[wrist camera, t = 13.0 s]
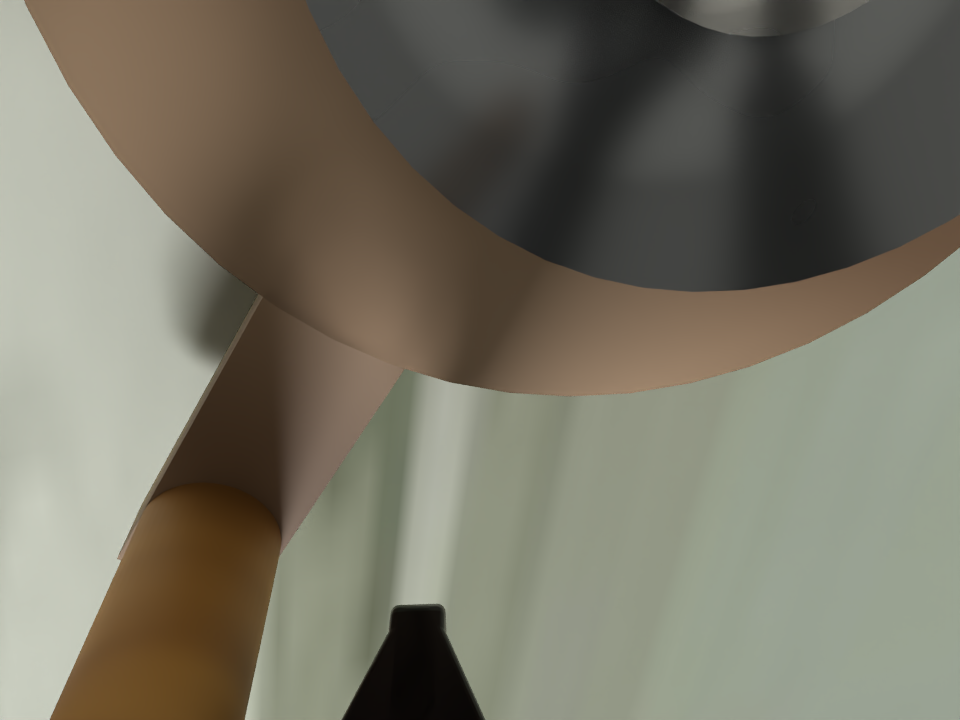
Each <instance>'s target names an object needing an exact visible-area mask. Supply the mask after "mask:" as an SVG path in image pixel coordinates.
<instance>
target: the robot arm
mask: <svg viewBox="0 0 960 720" xmlns="http://www.w3.org/2000/svg"><path fill="white" fill-rule="evenodd" d="M342 720H485V718H484V716H483V714H482V712H481V709H480V707H479V705H478V703H477V700H476V698H475V696H474V694H473V692H472V689H471V687H470V685H469V683H468V681H467V678H466V676H465V674H464V672H463V670H462V667H461V665H460V663H459V661H458V658H457V656H456V654H455V652H454V650H453V647H452V645H451V643H450V641H449V639H448V636H447V634H446V614H445V609H444V607H443V606H442V605H440V604H419V605H398V606H395V607H394V608H393V609H392V611H391V615H390V624H389V632H388V634H387V636H386V638H385V640H384V642H383V644H382V645H381V647H380V649H379V651H378V653H377V655H376V657H375V658H374V660H373V662H372V664H371V666H370V668H369V670H368V671H367V673H366V675H365V677H364V679H363V681H362V683H361V684H360V686H359V688H358V690H357V692H356V694H355V696H354V697H353V699H352V701H351V703H350V705H349V707H348V709H347V711H346V712H345V714H344V716H343V718H342Z"/></svg>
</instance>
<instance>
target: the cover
mask: <svg viewBox="0 0 960 720" xmlns="http://www.w3.org/2000/svg"><path fill="white" fill-rule="evenodd" d="M306 3H307V6H308V8H309V10H310V12H311V14H312V16H313V18H314V20H315V22H316V24H317V26H318V28H319V30H320V32H321V35H322V37H323V39H324V41H325V43H326V45H327V47H328V49H329V51H330V53H331V55H332V57H333V59H334V61H335V63H336V65H337V67H338V69H339V70H340V72H341V73H342V75H343V76H344V78H345V79H346V81H347V83H348V84H349V86H350V87H351V89H352V90H353V92H354V93H355V95H356V96H357V98H358V99H359V101H360V102H361V104H362V105H363V107H364V108H365V110H366V111H367V113H368V114H369V116H370V117H371V119H372V120H373V122H374V123H375V124H376V126H377V127H378V128H379V129H380V130H381V131H382V133H383V134H384V135H385V136H386V137H387V138H388V140H389V141H390V142H391V143H392V144H393V145H394V147H395V148H396V149H397V150H398V151H399V152H400V154H401V155H402V156H403V157H404V158H405V160H406V161H407V162H408V163H409V164H410V165H411V167H412V168H413V169H414V170H416V171H417V172H418V173H419V174H420V175H421V176H422V177H423V178H424V179H426V180H427V181H428V182H429V183H430V184H431V185H432V186H433V187H434V188H435V189H437V190H438V191H439V192H440V193H441V194H442V195H443V196H444V197H445V198H447V199H448V200H449V201H450V202H451V203H452V204H453V205H454V206H456V207H457V208H459V209H460V210H461V211H463V212H464V213H466V214H467V215H469V216H470V217H472V218H473V219H475V220H476V221H477V222H479V223H480V224H482V225H483V226H485V227H486V228H488V229H489V230H490V231H492V232H493V233H495V234H496V235H498V236H499V237H501V238H503V239H505V240H507V241H509V242H511V243H513V244H515V245H517V246H519V247H521V248H523V249H525V250H527V251H529V252H530V253H532V254H534V255H536V256H538V257H540V258H542V259H544V260H546V261H549V262H552V263H555V264H558V265H561V266H563V267H566V268H569V269H572V270H575V271H577V272H580V273H583V274H586V275H589V276H592V277H595V278H600V279H604V280H609V281H614V282H618V283H623V284H628V285H632V286H637V287H642V288H651V289H663V290H675V291H687V292H707V291H733V290H748V289H754V288H761V287H767V286H773V285H779V284H786V283H792V282H797V281H801V280H805V279H808V278H812V277H815V276H819V275H823V274H826V273H830V272H833V271H837V270H841V269H844V268H848V267H850V266H853V265H855V264H858V263H860V262H863V261H866V260H868V259H871V258H873V257H876V256H878V255H881V254H883V253H886V252H888V251H891V250H893V249H896V248H898V247H900V246H902V245H904V244H906V243H908V242H910V241H912V240H914V239H916V238H918V237H920V236H922V235H923V234H925V233H927V232H929V231H931V230H933V229H935V228H937V227H939V226H941V225H943V224H945V223H946V222H948V221H950V220H952V219H953V218H955V217H957V216H958V215H960V0H306Z"/></svg>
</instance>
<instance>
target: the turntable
mask: <svg viewBox="0 0 960 720" xmlns="http://www.w3.org/2000/svg"><path fill="white" fill-rule="evenodd" d="M24 1H25V3H26V6H27V8H28V10H29V12H30V13H31V15H32V17H33V19H34V21H35V23H36V25H37V27H38V29H39V31H40V33H41V34H42V36H43V38H44V40H45V42H46V44H47V46H48V48H49V50H50V52H51V53H52V55H53V57H54V59H55V61H56V63H57V65H58V67H59V69H60V71H61V72H62V74H63V76H64V78H65V80H66V82H67V84H68V86H69V87H70V89H71V90H72V92H73V93H74V95H75V96H76V98H77V99H78V101H79V102H80V104H81V105H82V106H83V108H84V109H85V111H86V112H87V114H88V115H89V117H90V118H91V120H92V121H93V123H94V124H95V126H96V127H97V129H98V130H99V132H100V133H101V135H102V136H103V138H104V139H105V141H106V142H107V144H108V145H109V146H110V148H111V149H112V151H113V152H114V154H115V155H116V156H117V158H118V159H119V160H120V161H121V162H122V164H123V165H124V166H125V167H126V168H127V169H128V171H129V172H130V173H131V174H132V175H133V176H134V178H135V179H136V180H137V181H138V182H139V184H140V185H141V186H142V187H143V188H144V189H145V191H146V192H147V193H148V194H149V195H150V196H151V198H152V199H153V200H154V201H155V202H156V204H157V205H158V206H159V207H160V208H161V209H162V211H163V212H164V213H165V214H166V215H167V216H168V217H169V218H170V219H171V220H172V221H173V222H174V223H175V224H176V225H178V226H179V227H180V228H181V229H182V230H183V231H184V232H185V233H186V234H187V235H188V236H189V237H190V238H191V239H192V240H194V241H195V242H196V243H197V244H198V245H199V246H200V247H201V248H202V249H203V250H204V251H205V252H206V253H207V254H208V255H210V256H211V257H212V258H213V259H214V260H215V261H216V262H217V263H218V264H219V265H220V266H222V267H223V268H224V269H226V270H227V271H228V272H230V273H231V274H232V275H234V276H235V277H237V278H238V279H239V280H241V281H242V282H243V283H245V284H246V285H247V286H249V287H250V288H251V289H253V290H254V291H255V292H257V293H258V295H257V297H256V299H255V301H254V303H253V304H252V306H251V308H250V310H249V312H248V313H247V315H246V317H245V319H244V321H243V322H242V324H241V326H240V328H239V330H238V331H237V333H236V335H235V337H234V339H233V341H232V342H231V344H230V346H229V348H228V350H227V351H226V353H225V355H224V357H223V359H222V360H221V362H220V364H219V366H218V368H217V369H216V371H215V373H214V375H213V377H212V378H211V380H210V382H209V384H208V386H207V388H206V389H205V391H204V393H203V395H202V397H201V398H200V400H199V402H198V404H197V406H196V407H195V409H194V411H193V413H192V415H191V416H190V418H189V420H188V422H187V424H186V426H185V427H184V429H183V431H182V433H181V435H180V436H179V438H178V440H177V442H176V444H175V445H174V447H173V449H172V451H171V453H170V454H169V456H168V458H167V460H166V462H165V464H164V465H163V467H162V469H161V471H160V473H159V474H158V476H157V478H156V480H155V482H154V483H153V485H152V487H151V489H150V491H149V492H148V494H147V496H146V498H145V500H144V502H143V503H142V505H141V508H140V510H139V512H138V514H137V516H136V519H135V521H134V523H133V525H132V527H131V529H130V532H129V534H128V536H127V538H126V540H125V543H124V545H123V547H122V549H121V551H120V554H119V556H118V558H117V559H119V560H121V562H120V565H119V567H118V569H117V571H116V574H115V576H114V578H113V580H112V582H111V585H110V587H109V589H108V591H107V594H106V596H105V598H104V600H103V602H102V605H101V607H100V609H99V611H98V614H97V616H96V618H95V620H94V622H93V625H92V627H91V629H90V631H89V634H88V636H87V638H86V640H85V642H84V645H83V647H82V649H81V651H80V654H79V656H78V658H77V660H76V662H75V665H74V667H73V669H72V671H71V674H70V676H69V678H68V680H67V682H66V685H65V687H64V689H63V691H62V694H61V696H60V698H59V700H58V702H57V705H56V707H55V709H54V711H53V714H52V716H51V718H50V720H245V715H246V710H247V705H248V701H249V696H250V691H251V686H252V682H253V677H254V672H255V668H256V663H257V658H258V653H259V649H260V644H261V639H262V635H263V630H264V625H265V620H266V616H267V611H268V606H269V601H270V597H271V592H272V587H273V583H274V578H275V573H276V568H277V564H278V559H279V556H280V555H281V553H282V552H283V550H284V549H285V547H286V546H287V544H288V543H289V541H290V540H291V538H292V537H293V535H294V534H295V532H296V531H297V529H298V528H299V526H300V525H301V523H302V522H303V520H304V519H305V517H306V516H307V514H308V513H309V511H310V510H311V508H312V507H313V505H314V504H315V502H316V501H317V499H318V498H319V496H320V495H321V493H322V492H323V490H324V489H325V487H326V486H327V484H328V483H329V481H330V480H331V478H332V477H333V475H334V474H335V472H336V471H337V469H338V468H339V466H340V465H341V463H342V462H343V460H344V459H345V457H346V456H347V454H348V453H349V451H350V450H351V448H352V447H353V445H354V444H355V442H356V441H357V439H358V438H359V436H360V435H361V433H362V432H363V430H364V429H365V427H366V426H367V424H368V423H369V421H370V420H371V418H372V417H373V415H374V414H375V413H376V411H377V410H378V408H379V407H380V405H381V404H382V402H383V401H384V399H385V398H386V396H387V395H388V393H389V392H390V390H391V389H392V387H393V386H394V384H395V383H396V381H397V380H398V378H399V377H400V375H401V374H402V372H403V371H404V369H408V370H411V371H414V372H418V373H421V374H424V375H428V376H431V377H434V378H438V379H441V380H444V381H448V382H452V383H457V384H463V385H469V386H474V387H480V388H486V389H492V390H497V391H503V392H509V393H523V394H539V395H556V396H585V395H604V394H622V393H634V392H640V391H646V390H652V389H658V388H664V387H670V386H676V385H682V384H688V383H692V382H696V381H699V380H703V379H707V378H710V377H714V376H717V375H721V374H725V373H728V372H732V371H735V370H739V369H742V368H746V367H750V366H752V365H755V364H757V363H760V362H762V361H765V360H767V359H770V358H772V357H775V356H777V355H780V354H782V353H785V352H788V351H790V350H793V349H795V348H798V347H800V346H803V345H805V344H808V343H810V342H812V341H814V340H816V339H818V338H820V337H821V336H823V335H825V334H827V333H829V332H831V331H833V330H835V329H837V328H839V327H841V326H843V325H845V324H847V323H848V322H850V321H852V320H854V319H856V318H858V317H860V316H862V315H864V314H866V313H868V312H869V311H871V310H872V309H874V308H875V307H877V306H878V305H880V304H881V303H883V302H885V301H886V300H888V299H889V298H891V297H892V296H894V295H895V294H897V293H898V292H900V291H901V290H903V289H904V288H906V287H908V286H909V285H911V284H912V283H914V282H915V281H917V280H918V279H920V278H921V277H923V276H924V275H926V274H927V273H928V272H929V271H931V270H932V269H933V268H934V267H936V266H937V265H938V264H939V263H941V262H942V261H943V260H945V259H946V258H947V257H948V256H950V255H951V254H952V253H953V252H955V251H956V250H957V249H958V248H960V215H958V216H957V217H955V218H953V219H952V220H950V221H948V222H946V223H945V224H943V225H941V226H939V227H937V228H935V229H933V230H931V231H929V232H927V233H925V234H923V235H922V236H920V237H918V238H916V239H914V240H912V241H910V242H908V243H906V244H904V245H902V246H900V247H898V248H896V249H893V250H891V251H888V252H886V253H883V254H881V255H878V256H876V257H873V258H871V259H868V260H866V261H863V262H860V263H858V264H855V265H853V266H850V267H848V268H844V269H841V270H837V271H833V272H830V273H826V274H823V275H819V276H815V277H812V278H808V279H805V280H801V281H797V282H792V283H786V284H779V285H773V286H767V287H761V288H754V289H748V290H733V291H707V292H687V291H675V290H663V289H651V288H642V287H637V286H632V285H628V284H623V283H618V282H614V281H609V280H604V279H600V278H595V277H592V276H589V275H586V274H583V273H580V272H577V271H575V270H572V269H569V268H566V267H563V266H561V265H558V264H555V263H552V262H549V261H546V260H544V259H542V258H540V257H538V256H536V255H534V254H532V253H530V252H529V251H527V250H525V249H523V248H521V247H519V246H517V245H515V244H513V243H511V242H509V241H507V240H505V239H503V238H501V237H499V236H498V235H496V234H495V233H493V232H492V231H490V230H489V229H488V228H486V227H485V226H483V225H482V224H480V223H479V222H477V221H476V220H475V219H473V218H472V217H470V216H469V215H467V214H466V213H464V212H463V211H461V210H460V209H459V208H457V207H456V206H454V205H453V204H452V203H451V202H450V201H449V200H448V199H447V198H445V197H444V196H443V195H442V194H441V193H440V192H439V191H438V190H437V189H435V188H434V187H433V186H432V185H431V184H430V183H429V182H428V181H427V180H426V179H424V178H423V177H422V176H421V175H420V174H419V173H418V172H417V171H416V170H414V169H413V168H412V167H411V165H410V164H409V163H408V162H407V161H406V160H405V158H404V157H403V156H402V155H401V154H400V152H399V151H398V150H397V149H396V148H395V147H394V145H393V144H392V143H391V142H390V141H389V140H388V138H387V137H386V136H385V135H384V134H383V133H382V131H381V130H380V129H379V128H378V127H377V126H376V124H375V123H374V122H373V120H372V119H371V117H370V116H369V114H368V113H367V111H366V110H365V108H364V107H363V105H362V104H361V102H360V101H359V99H358V98H357V96H356V95H355V93H354V92H353V90H352V89H351V87H350V86H349V84H348V83H347V81H346V79H345V78H344V76H343V75H342V73H341V72H340V70H339V69H338V67H337V65H336V63H335V61H334V59H333V57H332V55H331V53H330V51H329V49H328V47H327V45H326V43H325V41H324V39H323V37H322V35H321V32H320V30H319V28H318V26H317V24H316V22H315V20H314V18H313V16H312V14H311V12H310V10H309V8H308V6H307V3H306V0H24Z"/></svg>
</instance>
